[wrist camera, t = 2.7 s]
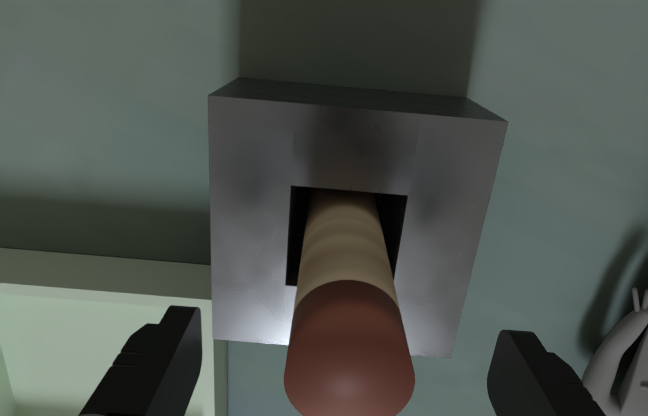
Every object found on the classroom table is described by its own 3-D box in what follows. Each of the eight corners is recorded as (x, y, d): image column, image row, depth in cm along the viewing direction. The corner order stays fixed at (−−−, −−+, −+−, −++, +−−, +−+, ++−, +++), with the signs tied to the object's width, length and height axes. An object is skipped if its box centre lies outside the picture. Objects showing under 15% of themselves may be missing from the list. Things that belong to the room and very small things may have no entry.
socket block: (238, 77, 19) (207, 95, 15) (466, 97, 19) (508, 121, 15) (236, 275, 23) (212, 338, 18) (427, 291, 23) (450, 358, 19)
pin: (312, 162, 21) (287, 323, 10) (376, 167, 21) (425, 335, 10) (308, 220, 22) (281, 425, 11) (369, 225, 22) (404, 434, 11)
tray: (-26, 245, 23) (-76, 276, 20) (227, 266, 23) (212, 300, 20) (20, 428, 28) (-14, 474, 25) (227, 445, 28) (216, 491, 25)
